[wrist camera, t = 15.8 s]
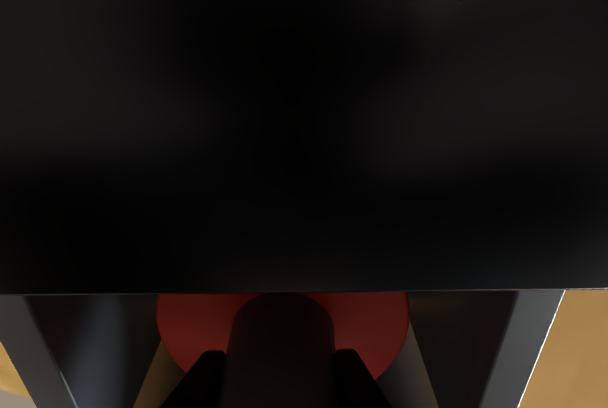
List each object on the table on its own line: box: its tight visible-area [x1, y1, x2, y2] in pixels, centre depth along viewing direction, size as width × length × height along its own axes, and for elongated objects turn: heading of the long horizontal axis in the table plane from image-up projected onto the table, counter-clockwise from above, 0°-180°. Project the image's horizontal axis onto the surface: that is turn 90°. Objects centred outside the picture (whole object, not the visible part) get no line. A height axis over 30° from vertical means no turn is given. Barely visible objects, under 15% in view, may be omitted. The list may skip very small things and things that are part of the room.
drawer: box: [0, 290, 566, 408], centre depth 11 cm, size 17×11×7 cm, turn 1°
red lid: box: [156, 292, 410, 408], centre depth 8 cm, size 6×6×4 cm
